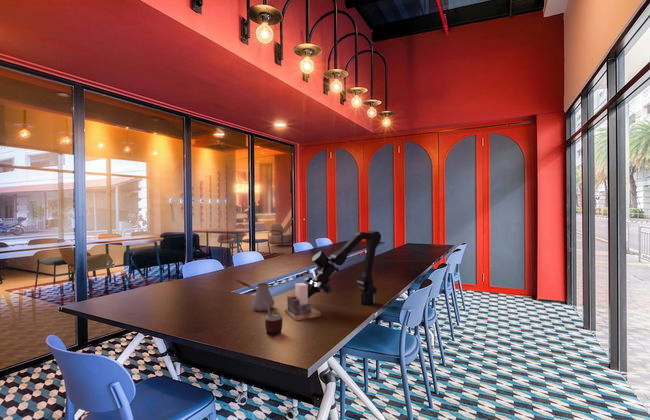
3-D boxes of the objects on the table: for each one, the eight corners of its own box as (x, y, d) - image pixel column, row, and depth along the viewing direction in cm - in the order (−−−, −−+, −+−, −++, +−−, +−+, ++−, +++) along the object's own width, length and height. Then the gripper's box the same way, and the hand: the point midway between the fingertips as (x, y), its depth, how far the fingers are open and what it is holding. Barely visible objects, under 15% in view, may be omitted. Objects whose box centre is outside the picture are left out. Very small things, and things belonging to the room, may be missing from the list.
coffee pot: (277, 306, 183) (277, 278, 182) (270, 312, 171) (269, 282, 171) (239, 304, 186) (239, 277, 186) (230, 311, 175) (229, 281, 175)
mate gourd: (283, 330, 146) (282, 295, 146) (281, 337, 138) (281, 300, 138) (265, 331, 145) (265, 295, 145) (262, 338, 138) (262, 300, 137)
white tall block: (303, 308, 171) (302, 282, 171) (307, 311, 166) (307, 285, 166) (295, 309, 170) (295, 283, 169) (300, 312, 164) (299, 285, 164)
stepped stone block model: (309, 308, 177) (309, 290, 177) (321, 316, 165) (320, 296, 165) (284, 312, 171) (284, 293, 171) (295, 320, 159) (294, 300, 159)
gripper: (344, 287, 168) (324, 313, 163) (327, 280, 185) (308, 303, 180) (330, 272, 164) (309, 298, 159) (313, 267, 181) (294, 290, 176)
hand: (305, 298), depth 169 cm, fingers closed
